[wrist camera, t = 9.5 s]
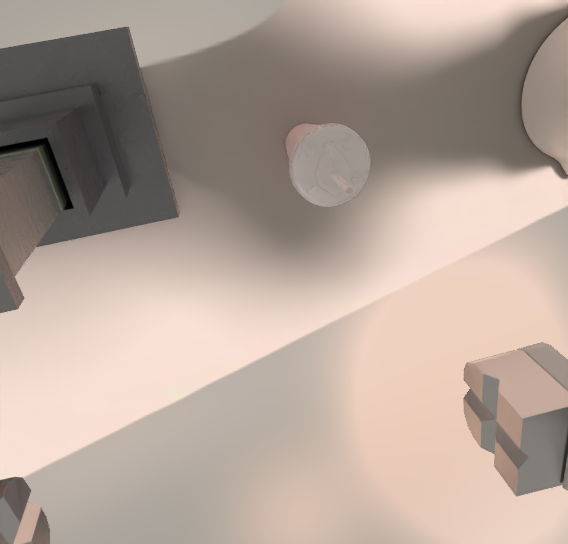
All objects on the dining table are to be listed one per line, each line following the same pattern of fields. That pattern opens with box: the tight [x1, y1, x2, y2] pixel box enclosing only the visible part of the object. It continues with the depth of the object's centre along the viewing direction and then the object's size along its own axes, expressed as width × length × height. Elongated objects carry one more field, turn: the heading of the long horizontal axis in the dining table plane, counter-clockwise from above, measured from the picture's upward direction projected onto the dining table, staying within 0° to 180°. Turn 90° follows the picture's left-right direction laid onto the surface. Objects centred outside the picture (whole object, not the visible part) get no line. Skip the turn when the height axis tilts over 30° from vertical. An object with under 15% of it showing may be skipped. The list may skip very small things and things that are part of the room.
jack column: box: [0, 138, 70, 313], centre depth 28 cm, size 5×5×18 cm
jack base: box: [0, 27, 179, 247], centre depth 37 cm, size 16×16×12 cm
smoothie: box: [286, 123, 371, 207], centre depth 40 cm, size 6×6×14 cm
